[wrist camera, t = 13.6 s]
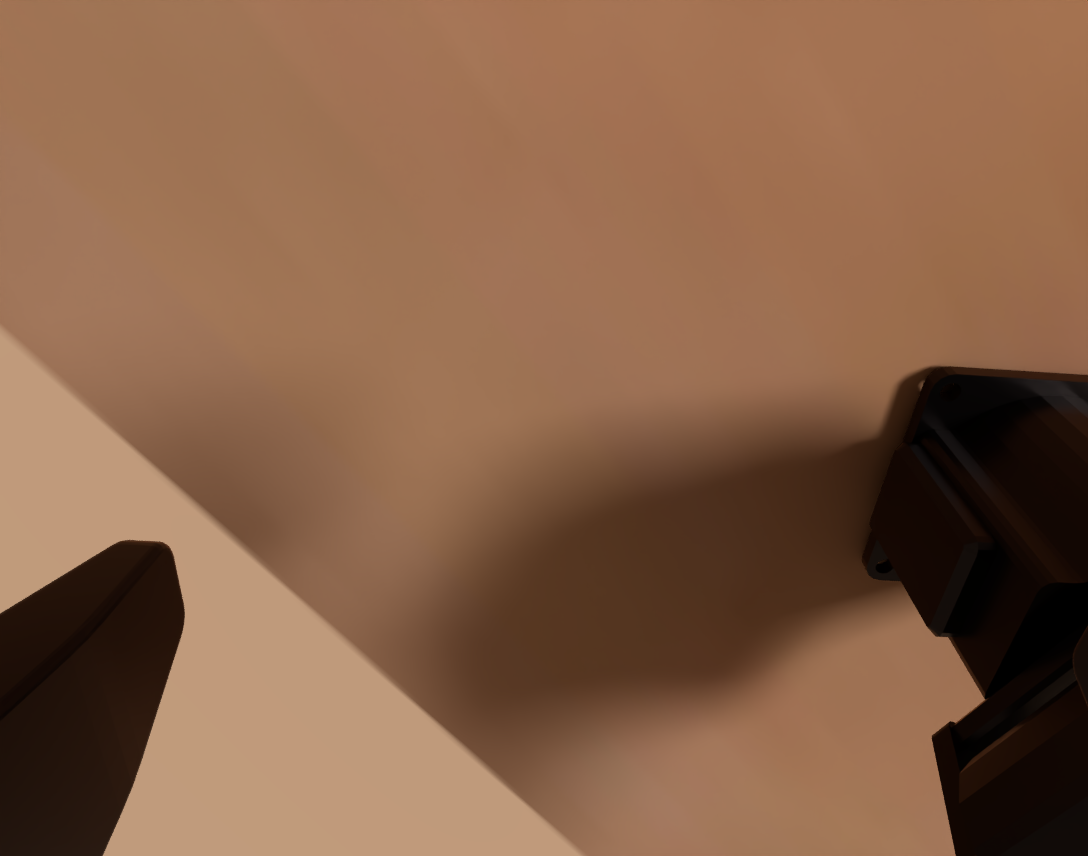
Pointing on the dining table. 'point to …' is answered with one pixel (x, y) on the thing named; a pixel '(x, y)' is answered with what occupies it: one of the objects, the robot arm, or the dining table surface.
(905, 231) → the dining table surface
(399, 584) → the dining table surface
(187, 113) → the dining table surface
